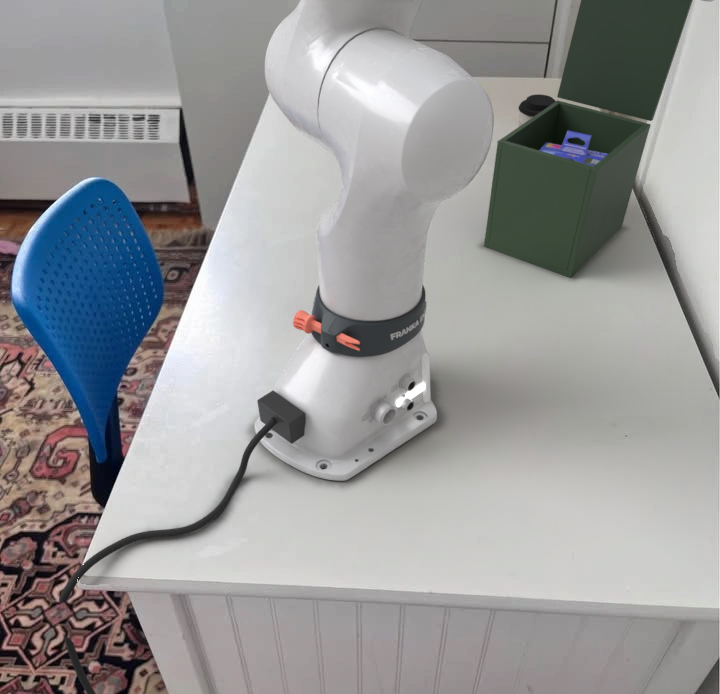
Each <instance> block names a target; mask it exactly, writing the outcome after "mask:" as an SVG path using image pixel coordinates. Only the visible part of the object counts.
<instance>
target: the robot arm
mask: <svg viewBox="0 0 720 694" xmlns="http://www.w3.org/2000/svg"><path fill="white" fill-rule="evenodd" d="M701 1H703V2H715V0H701ZM424 2H425V0H299V1H298V4H297V5H296V7H295V9H293V10H292V11H291V12H290V13H289V14H288V15H287V16H286V17H284V18H283V20H282V21H281V22H280V23H279V24H278V25H277V27H276V28H275V30H274V31H273V33H272V35H271V38H270V39H269V42H268V45H267V48H266V51H265V58H264V78H265V84H266V87H267V89H268V92H269V94H270V96H271V98H272V100H273V101H274V102H275V104H276V105H277V107H278V108H279V110H280V111H281V112H282V114H283V115H284V117H285V118H286V119H287V120H288V121H289V123H290V124H291V126H293V127H294V128H295V130H297V131H298V132H299V133H300V134H301V135H303V136H304V137H306V138H308V139H309V140H310V141H312V142H314V143H315V144H316V145H318V146H319V147H321V148H322V149H324V150H326V151H327V152H329V153H330V154H331V155H333V156H334V157H335V159H336V161H337V164H338V166H339V170H340V173H341V186H340V193H339V198H338V200H336V201H334V202H333V203H332V204H331V205H330V206H328V208H326V209H325V211H324V212H323V213H322V214H321V216H320V217H319V219H318V222H317V225H316V230H315V236H316V237H315V238H316V252H317V253H316V255H317V272H318V273H317V274H318V286H317V288H316V293H315V296H314V298H313V304H312V311H311V314H309V313H308V312H306V311H305V310H303V309H300V310H298V311H297V312H296V313H295V314H294V315H293V317H294V318H293V319H292V326H293V328H295V329H297V330H300V331H303V332H304V333H305V336H304V337H303V338H302V340H301V341H300V343H299V345H298V347H297V348H296V349H295V351H294V353H293V355H292V356H291V358H290V359H289V362H288V363H287V364H286V366H285V368H284V369H283V371H282V373H281V374H280V376H279V378H278V379H277V381H276V383H275V385H274V389H273V390H271V391H269V392H268V393H266V394H265V395H263V396H261V397H260V398H258V399H257V407H258V414H259V416H258V417H257V418H256V420H255V421H254V426H253V428H254V433H255V435H254V437H252V439H251V440H250V442H249V443H248V445H247V446H246V447H245V448H244V452H243V454H242V456H241V460H240V463H239V466H238V467H239V468H238V470H237V472H236V474H235V476H234V478H233V479H232V482H231V483H230V485H229V487H228V489H227V491H226V493H225V495H224V496H223V497H222V499H221V501H220V502H219V504H217V506H216V507H215V508H214V509H212V510H211V512H209V513H208V514H207V515H205V516H204V517H202V518H201V519H199V520H197V521H196V522H193V523H191V524H188V525H185V526H181V527H176V528H168V529H155V530H148V531H141V532H137V533H134V534H130V535H129V536H125V537H123V538H121V539H119V540H117V541H115V542H113V543H112V544H110V545H108V546H106V547H105V548H103V549H101V550H99V551H97V553H94V554H93V555H92V556H91V557H90V558H88V559H87V560H86V561H84V562H83V564H84V565H83V564H81V565H80V566H79V568H78V569H76V571H75V572H74V573H73V574H72V576H71V577H70V579H69V580H68V581H67V583H66V585H65V586H64V588H63V590H62V591H61V594H60V596H59V599H58V602H59V603H65V602H66V601H67V600H68V599H69V598H70V596H71V594H72V592H73V591H74V589H75V588H76V585H77V584H78V583H79V581H80V580H81V579H82V578H83V576H84V575H85V574H86V573H87V572H88V571H89V570H90V569H91V568H93V567H94V566H95V565H96V564H97V563H99V562H100V561H102V560H103V559H104V558H106V557H108V556H109V555H111V554H113V553H114V552H116V551H118V550H120V549H122V548H124V547H127V546H128V545H130V544H133V543H136V542H139V541H143V540H149V539H150V540H151V539H157V538H169V537H177V536H178V537H179V536H182V535H183V536H184V535H187V534H190V533H193V532H196V531H198V530H200V529H201V528H204V527H205V526H206V525H208V524H209V523H211V522H212V521H214V520H215V519H216V518H218V517H219V515H220V514H221V513H223V511H224V510H225V509H226V507H228V504H229V503H230V501H231V499H232V497H233V496H234V494H235V492H236V491H237V489H238V487H239V485H240V483H241V481H242V479H243V477H244V476H245V473H246V471H247V468H248V464H249V462H250V461H249V460H250V458H251V455H252V454H253V452H254V450H255V448H256V447H257V445H258V444H259V443H261V445H262V446H263V447H264V448H265V449H266V450H267V451H268V452H269V453H271V454H272V455H273V456H274V457H276V458H277V459H279V460H280V461H282V462H284V463H285V464H287V465H289V466H290V467H292V468H294V469H296V470H298V471H300V472H303V473H305V474H307V475H310V476H313V477H316V478H319V479H323V480H329V481H336V482H337V481H340V482H344V481H345V482H346V481H348V480H350V479H351V478H353V477H355V476H356V475H358V474H359V473H361V472H362V471H364V470H366V469H367V468H368V467H370V466H372V465H373V464H374V463H376V462H377V461H379V460H381V459H382V458H384V457H385V456H387V455H388V454H390V453H391V452H393V451H395V450H396V449H397V448H399V447H400V446H402V445H404V444H405V443H406V442H408V441H410V440H411V439H413V438H414V437H416V436H417V435H419V434H420V433H422V432H424V431H425V430H426V429H428V428H429V427H431V426H432V425H434V424H435V423H436V422H437V421H438V412H437V408H436V406H435V404H434V402H433V401H432V398H431V368H430V367H431V365H430V356H429V352H428V350H427V345H426V342H425V339H424V335H423V327H424V325H425V317H426V313H427V301H426V300H427V299H426V297H427V296H426V294H427V293H426V289H425V286H424V284H423V283H424V269H425V259H426V249H427V240H428V233H429V229H430V226H431V223H432V221H433V217H434V216H435V213H436V211H437V209H438V207H439V205H441V203H443V201H446V200H448V199H450V198H453V197H454V196H456V195H457V194H459V193H460V192H461V191H462V190H465V188H466V187H467V186H468V185H469V184H470V183H471V182H472V181H473V180H474V179H475V177H476V176H477V175H478V174H479V172H480V171H481V168H482V167H483V165H484V163H485V161H486V159H487V156H488V154H489V151H490V148H491V145H492V141H493V135H494V126H495V124H494V123H495V117H494V116H495V115H494V108H493V104H492V101H491V99H490V96H489V94H488V93H487V91H486V90H485V88H484V87H483V86H482V85H481V84H479V82H478V81H476V79H475V78H474V77H472V76H471V74H469V73H468V72H467V71H466V70H465V69H464V68H463V67H462V66H460V65H459V64H458V63H457V62H456V61H454V60H453V59H452V58H451V57H450V56H448V55H447V54H445V53H443V52H441V51H439V50H437V49H434V48H432V47H430V46H428V45H426V44H423V43H422V42H420V41H417V40H414V39H412V38H411V35H412V31H413V28H414V25H415V22H416V19H417V17H418V14H419V11H420V10H421V8H422V6H423V4H424ZM78 577H79V578H78ZM77 579H78V582H77ZM62 635H63V639H64V643H65V646H66V651H67V653H68V657H69V658H70V661H71V664H72V667H73V669H74V672H75V673H76V676H77V678H78V680H79V682H80V684H81V685H82V688H83V689H84V691H85V692H86V694H97V693H96V691H95V690H94V687H93V686H92V684H91V683H90V681H89V678H88V677H87V674H86V673H85V671H84V669H83V666H82V664H81V661H80V658H79V656H78V653H77V650H76V646H75V643H74V641H72V640H71V639H70V638H69V637H68V636H66V635H65V634H64V633H63V634H62Z"/></svg>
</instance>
